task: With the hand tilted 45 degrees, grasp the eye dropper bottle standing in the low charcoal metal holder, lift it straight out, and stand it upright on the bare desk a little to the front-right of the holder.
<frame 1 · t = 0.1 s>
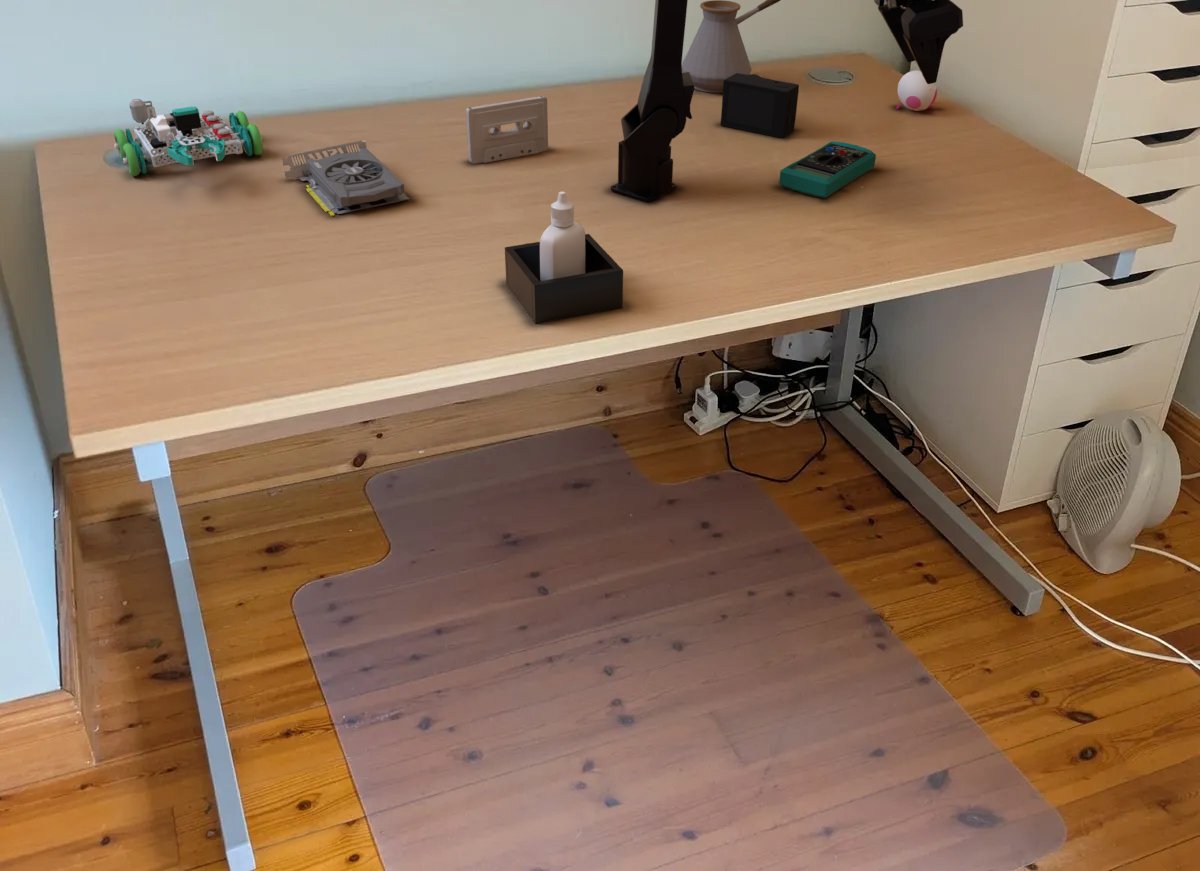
hand: (921, 71, 143), 15 cm above the table, tool pointing down, fingers open, 9 cm apart
eye dropper bottle: (563, 297, 125), resting in holder
digital multimeter: (826, 180, 154), on the table
coffee pot: (740, 83, 189), on the table
graphics card: (347, 192, 149), on the table
holder: (563, 295, 125), on the table
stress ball: (917, 110, 179), on the table
cassette: (509, 157, 160), on the table
digital camera: (759, 128, 171), on the table
robot kit: (199, 169, 156), on the table
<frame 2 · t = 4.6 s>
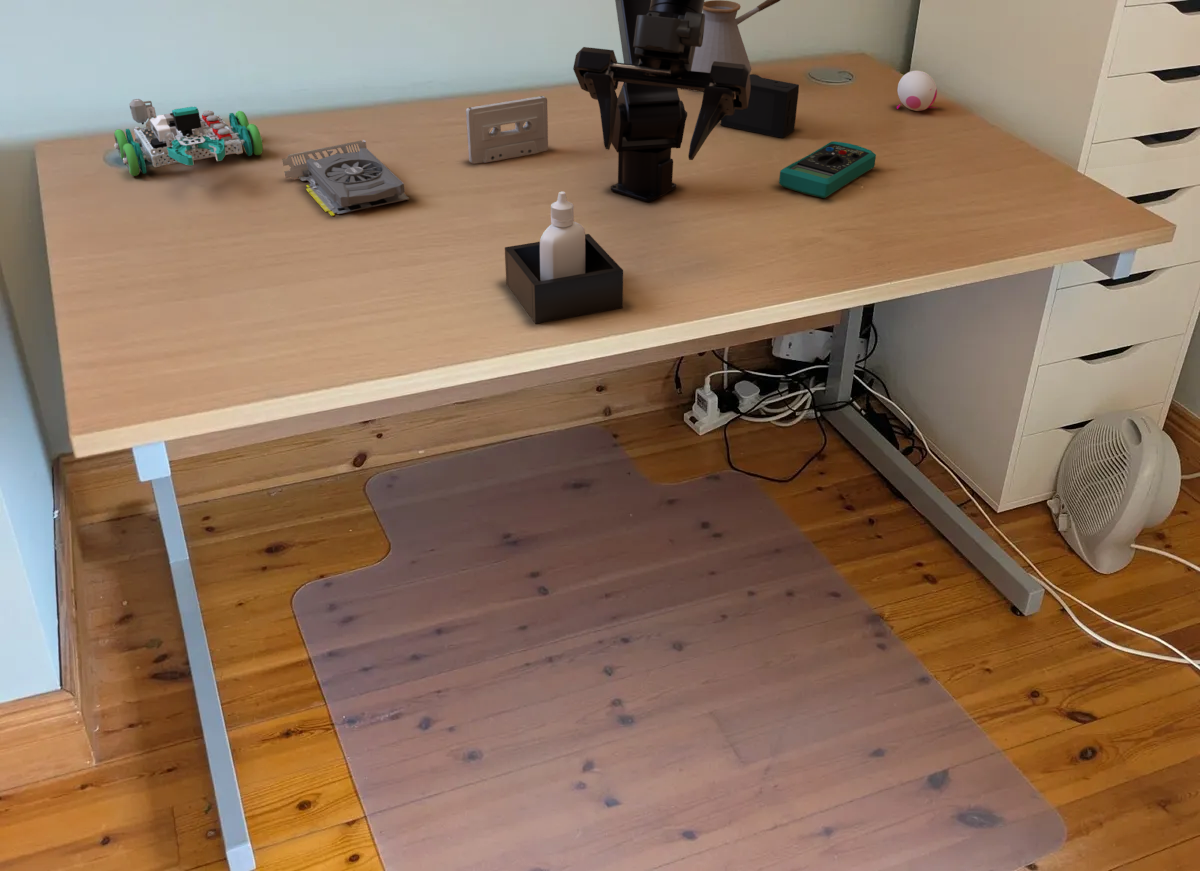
hand: (648, 153, 122), 14 cm above the table, tool tilted 40°, fingers open, 9 cm apart
nothing on the table moved.
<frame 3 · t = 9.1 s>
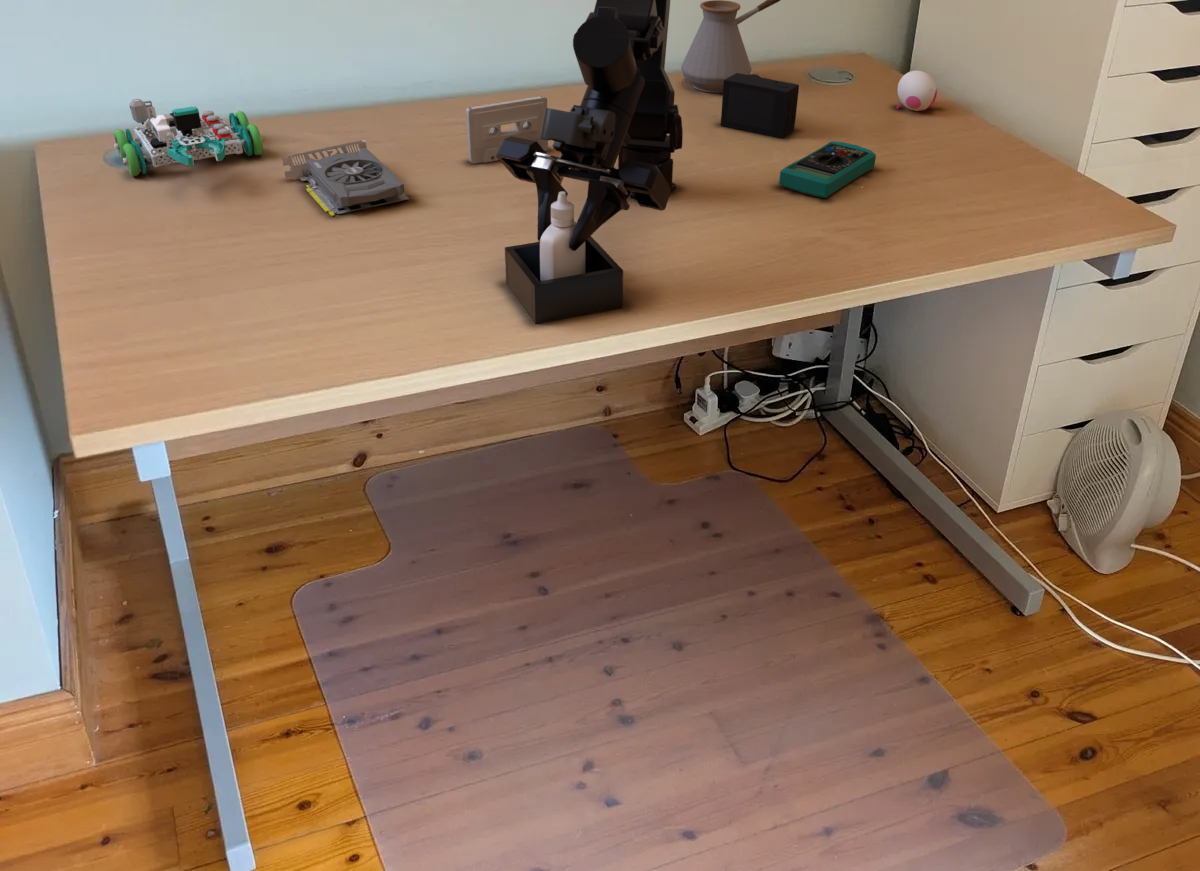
hand: (555, 245, 121), 7 cm above the table, tool tilted 45°, fingers closed on eye dropper bottle, 3 cm apart
eye dropper bottle: (563, 297, 125), resting in holder, touching gripper
everything else where it was.
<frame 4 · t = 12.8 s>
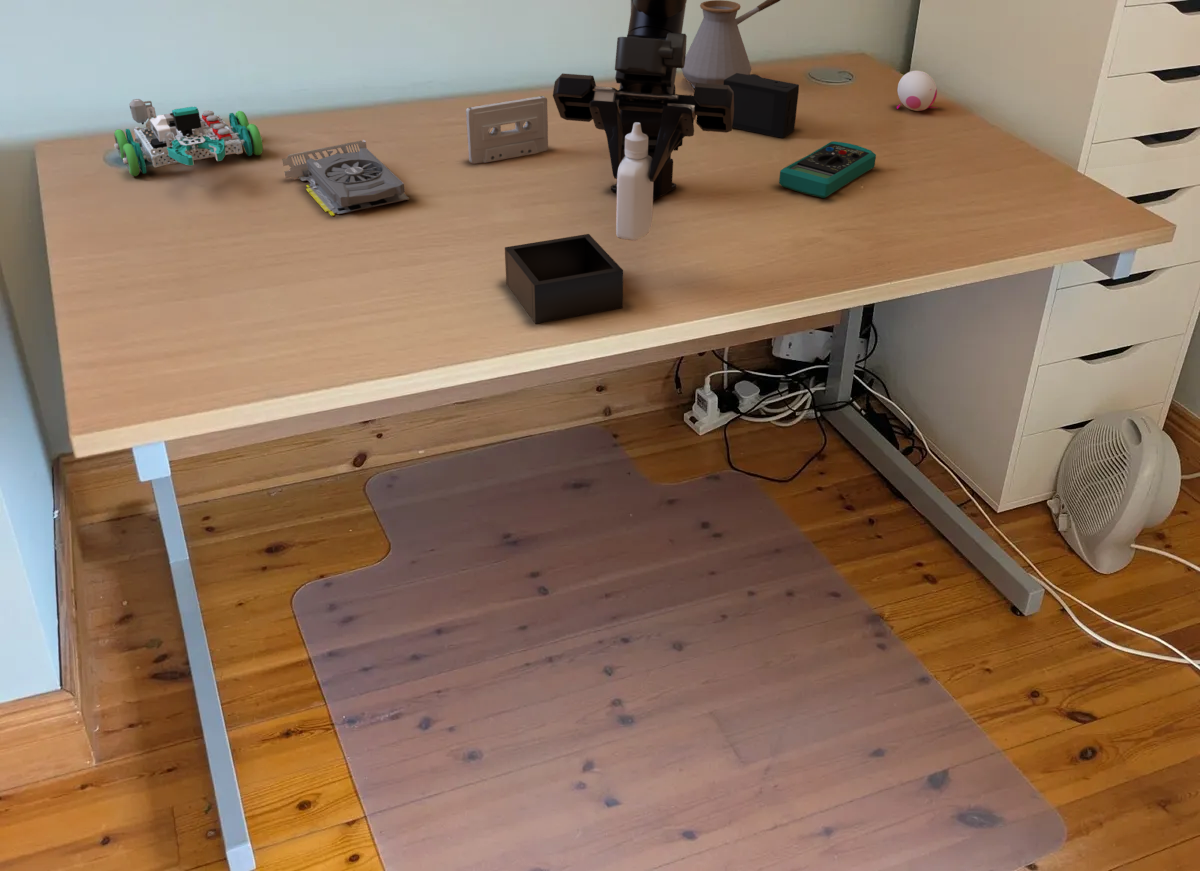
hand: (633, 178, 119), 13 cm above the table, tool tilted 45°, fingers closed on eye dropper bottle, 3 cm apart
eye dropper bottle: (634, 232, 124), point 6 cm above the table, touching gripper
everything else where it was.
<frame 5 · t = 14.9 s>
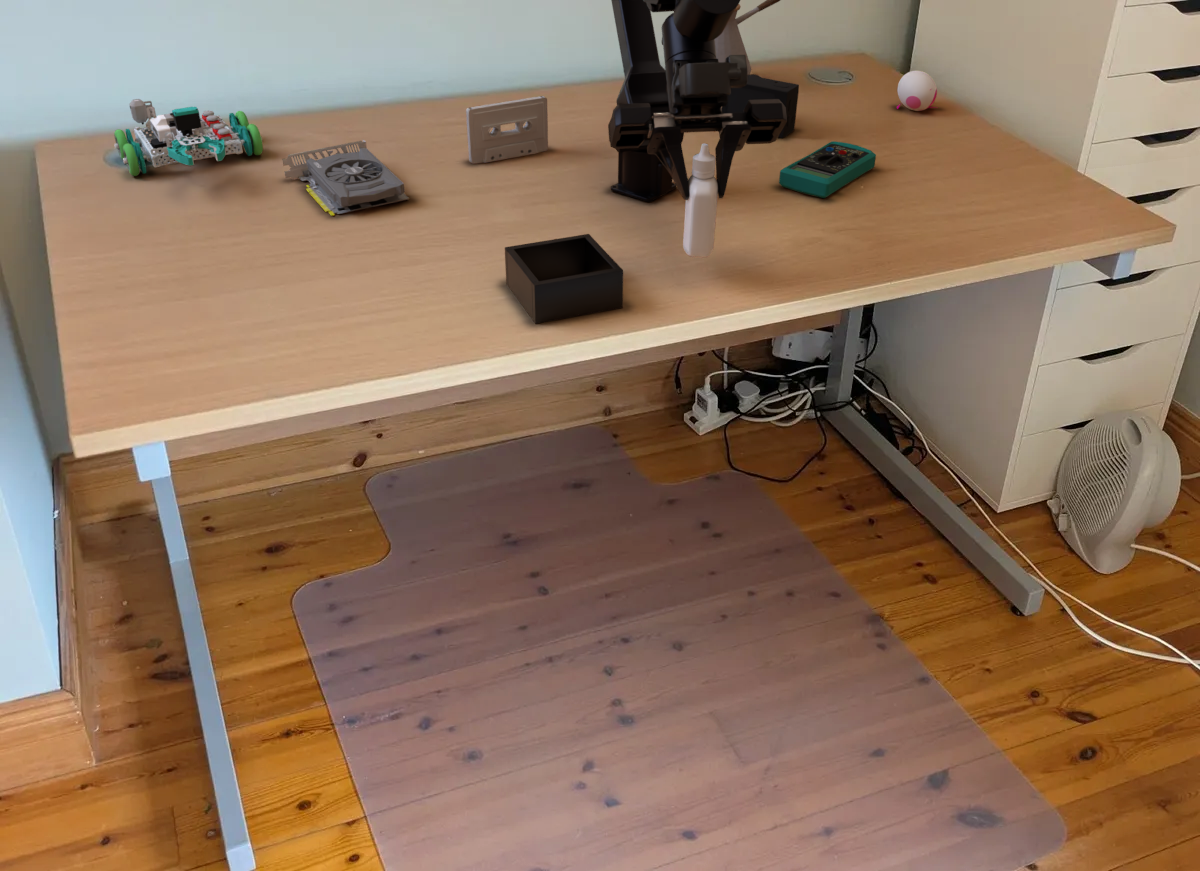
hand: (704, 197, 123), 10 cm above the table, tool tilted 45°, fingers closed on eye dropper bottle, 3 cm apart
eye dropper bottle: (698, 249, 127), point 3 cm above the table, touching gripper
everything else where it was.
when the fingers open (7 cm above the table, at t = 16.5 s): eye dropper bottle stays where it is, on the table.
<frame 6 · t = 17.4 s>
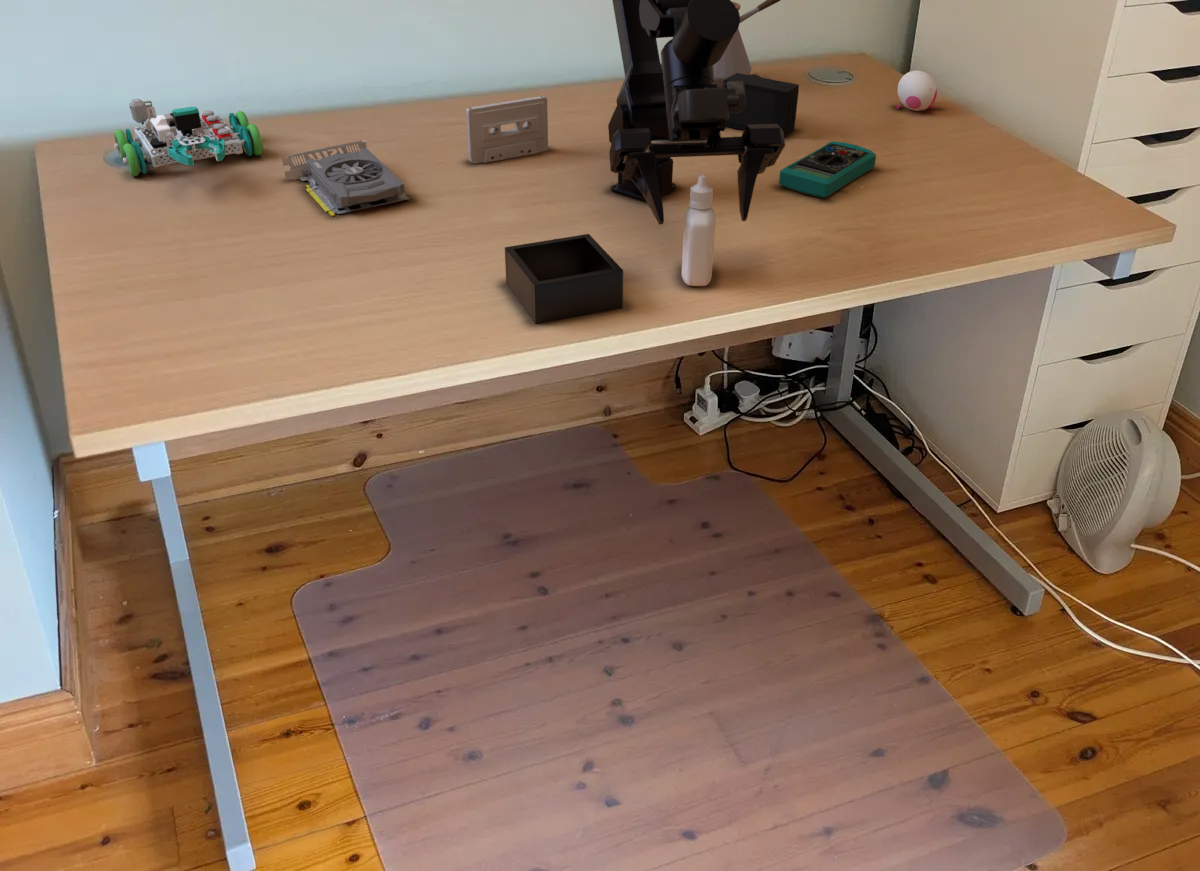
hand: (703, 221, 124), 7 cm above the table, tool tilted 45°, fingers open, 9 cm apart
eye dropper bottle: (696, 278, 129), on the table
everything else where it was.
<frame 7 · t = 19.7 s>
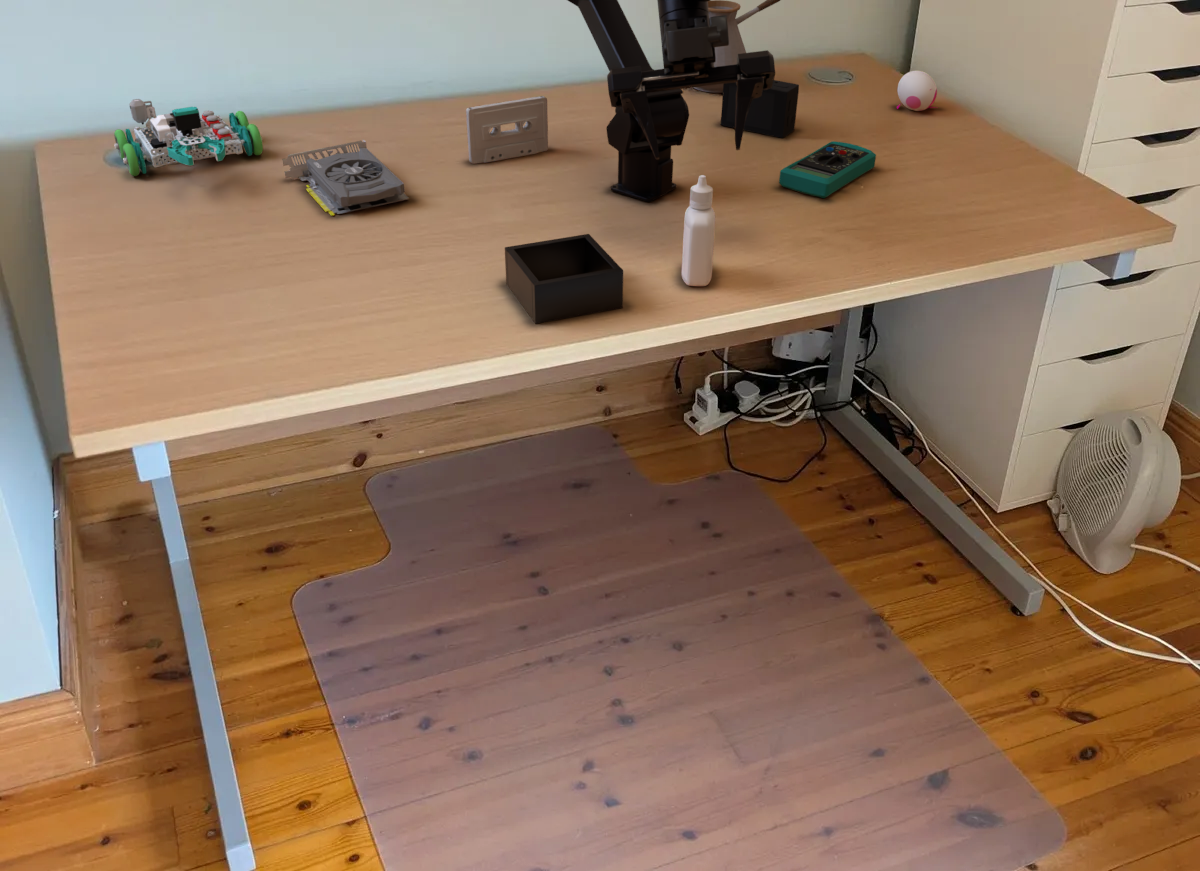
hand: (697, 153, 129), 12 cm above the table, tool tilted 35°, fingers open, 9 cm apart
nothing on the table moved.
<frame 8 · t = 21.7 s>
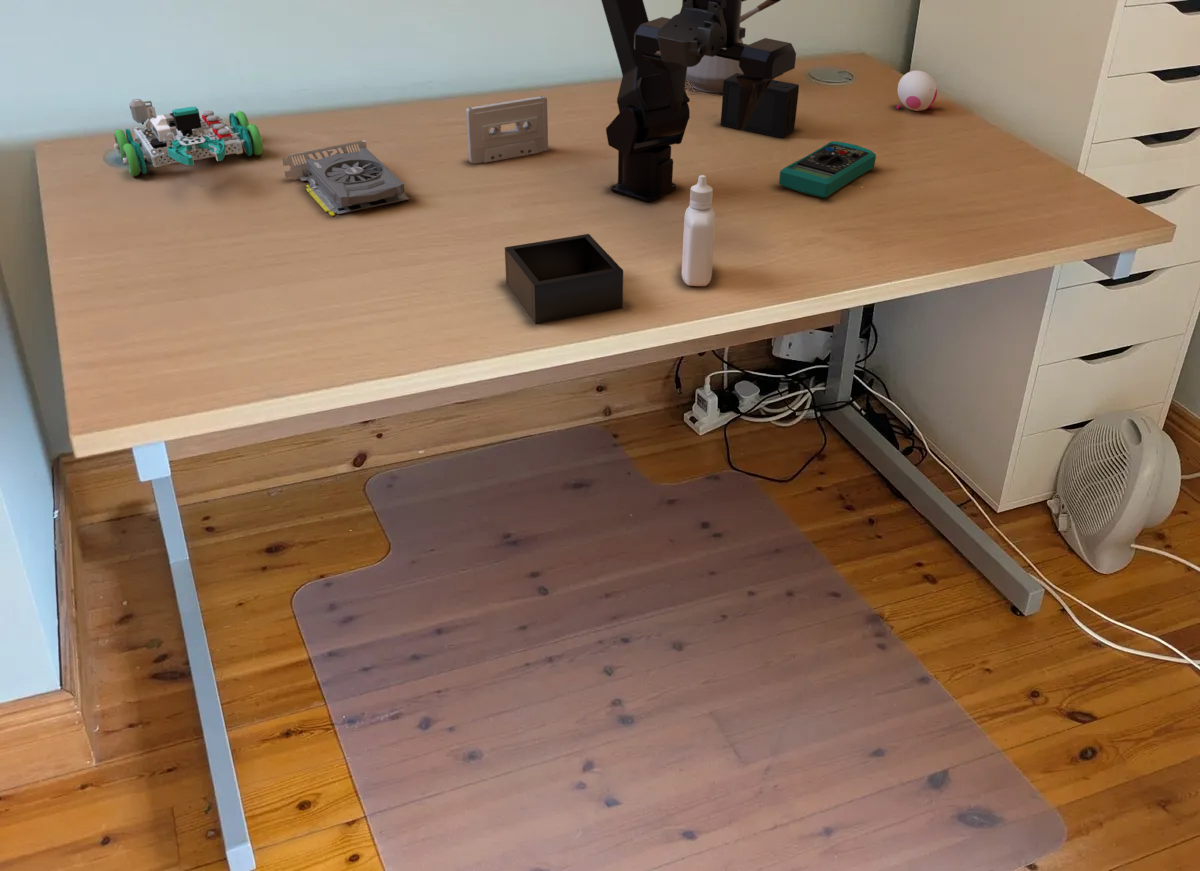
hand: (708, 120, 134), 13 cm above the table, tool pointing down, fingers open, 9 cm apart
nothing on the table moved.
at the end: eye dropper bottle inside the target area (0.1 cm from its centre), on the table; eye dropper bottle tilted 0°; the gripper is holding nothing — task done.
